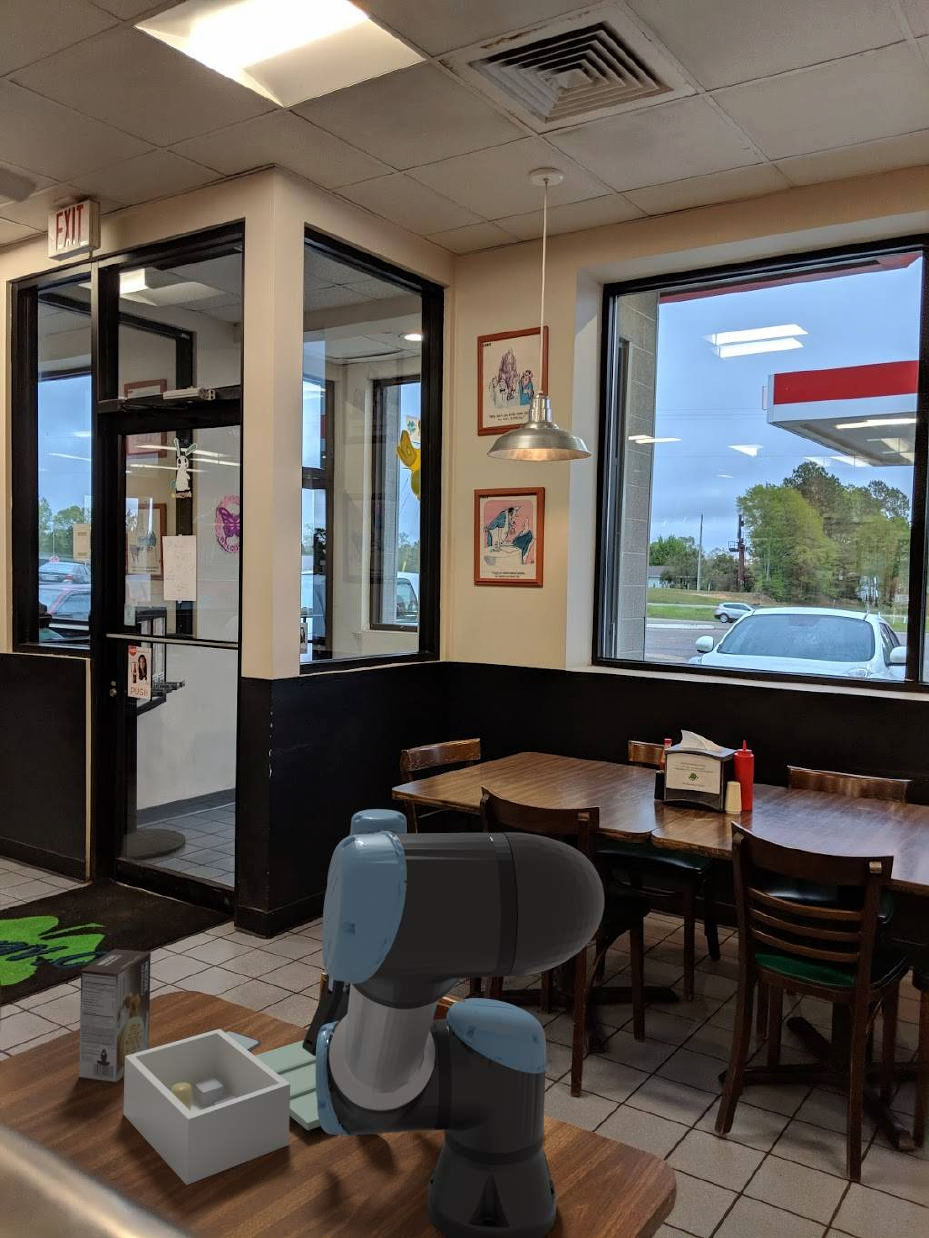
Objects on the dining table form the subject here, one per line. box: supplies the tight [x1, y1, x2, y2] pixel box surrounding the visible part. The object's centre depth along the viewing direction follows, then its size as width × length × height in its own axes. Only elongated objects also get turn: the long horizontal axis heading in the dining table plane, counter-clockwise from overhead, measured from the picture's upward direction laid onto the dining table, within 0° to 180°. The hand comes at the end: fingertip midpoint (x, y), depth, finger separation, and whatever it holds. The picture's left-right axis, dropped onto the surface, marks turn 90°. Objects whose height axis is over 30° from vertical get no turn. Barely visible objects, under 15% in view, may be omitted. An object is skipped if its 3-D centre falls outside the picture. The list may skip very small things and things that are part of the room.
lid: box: [254, 1039, 378, 1135], centre depth 136 cm, size 27×15×10 cm, turn 40°
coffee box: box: [78, 948, 152, 1083], centre depth 143 cm, size 9×6×16 cm
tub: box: [123, 1028, 290, 1186], centre depth 127 cm, size 20×14×8 cm
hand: (371, 1086), depth 127 cm, fingers open, 13 cm apart
